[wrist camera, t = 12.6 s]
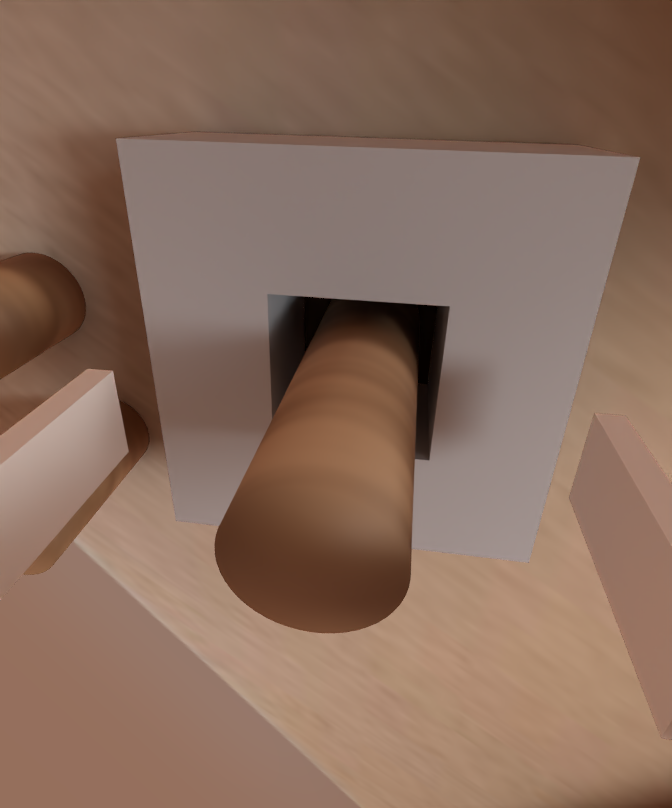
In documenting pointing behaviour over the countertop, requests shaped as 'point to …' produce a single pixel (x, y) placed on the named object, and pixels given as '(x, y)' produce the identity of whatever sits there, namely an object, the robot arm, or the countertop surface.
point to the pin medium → (97, 491)
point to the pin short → (35, 308)
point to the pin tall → (333, 479)
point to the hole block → (383, 282)
